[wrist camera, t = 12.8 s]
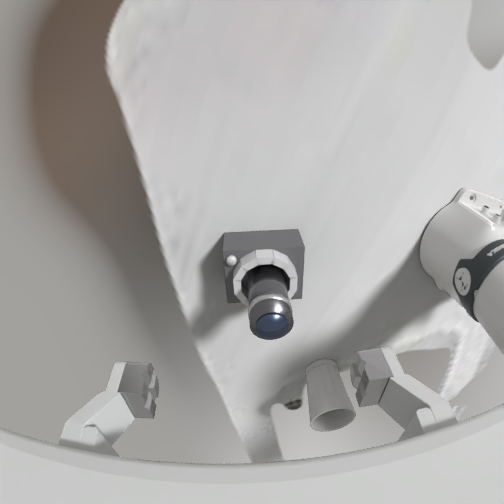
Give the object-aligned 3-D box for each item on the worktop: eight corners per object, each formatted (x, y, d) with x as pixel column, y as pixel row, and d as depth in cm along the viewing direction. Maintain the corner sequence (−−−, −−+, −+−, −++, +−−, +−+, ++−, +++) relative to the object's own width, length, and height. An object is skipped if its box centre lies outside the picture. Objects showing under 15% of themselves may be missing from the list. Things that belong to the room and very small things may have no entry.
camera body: (298, 229, 44) (307, 254, 38) (296, 281, 48) (303, 311, 42) (224, 232, 44) (221, 259, 37) (228, 285, 48) (227, 316, 42)
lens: (257, 254, 40) (263, 303, 31) (291, 269, 41) (303, 318, 33) (239, 284, 42) (240, 335, 34) (272, 296, 43) (279, 348, 35)
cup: (296, 363, 57) (306, 416, 47) (338, 351, 56) (354, 402, 46) (305, 386, 61) (314, 435, 50) (343, 375, 60) (357, 423, 49)
